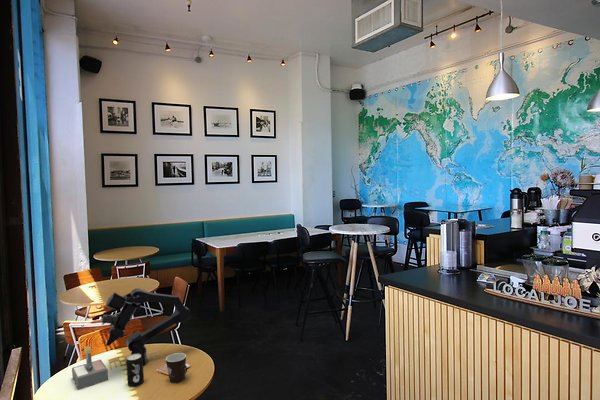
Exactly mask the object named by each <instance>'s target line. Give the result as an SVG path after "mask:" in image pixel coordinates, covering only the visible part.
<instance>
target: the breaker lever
mask: <svg viewBox="0 0 600 400" xmlns="http://www.w3.org/2000/svg"><path fill="white" fill-rule="evenodd" d="M83 350H84V353H85V360H86V361H85V364H86V365H87V367H88V369H89V370H91V369H92V368H93V367H92V362H93V361H92V354H93V348H92V347H91V346H90V345H87V346H83Z"/></svg>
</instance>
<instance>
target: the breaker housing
mask: <svg viewBox="0 0 600 400" xmlns="http://www.w3.org/2000/svg"><path fill="white" fill-rule="evenodd" d="M92 367H93V368H92V369H91V370H89V369H88V367H87V365H86V363H85V364H84V363H83V364H81V365H77V366H74V367H72V368H71V373H72V375H71V376H72V380H73V383H74V384H75V386H76V388H77V390H79V391H81V390H83V389H86V388H88V387H91V386H95V385H98V384H101V383H104V382H107V381H109V371H108V368H107V366H106V365H105V364H104V362H103V361H102V359H98V360H93V361H92Z"/></svg>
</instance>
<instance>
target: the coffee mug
mask: <svg viewBox="0 0 600 400" xmlns="http://www.w3.org/2000/svg"><path fill="white" fill-rule="evenodd" d="M186 361H187V355H186V353H183V352H176V353H171V354H169V355H167V356H166V357H165V364H166V368H167V374H168V378H169V382H170V383H172V384H178V383H181V382H183V381H184V380H185V378H186V374H187V372H188V367H187V364H186V363H187V362H186Z"/></svg>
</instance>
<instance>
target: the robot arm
mask: <svg viewBox="0 0 600 400" xmlns="http://www.w3.org/2000/svg"><path fill="white" fill-rule="evenodd" d="M145 303H161V304H169V305H173V306H174V308H175V310H174V311H173V312H172V314H171V315H170V316H168V317H166V318H165V319H163V320H161V321H160V322H158V323H156V324H155V325H153V326H151V327H150V328H148V329H146V330H145V331H141V332H140V331H139V330H137V331H135V332H134V333H132V334H129V336H128V338H127V339H126V347H127V349H128V350H129V352H130V355H133V354H141V357H142V359H143V367H145V366H146V365H147V363H148V361H149V359H148V358H147V357H148V356H147V348H146V343H147V342H148V341H149V340H151V339H153V338H154V337H156V336H158V335H159V334H161V333H163V332H164V331H166V330H168V329H169V328H170V327H173V326H174V325H176V324H181V323H184V322H186V321H188V320H190V319H191V317H192V312H191V309H189V308H188V307H187V306H185V305H184V303H183V302H182V300H181V298H180V297H179V296H178V295H175V294H174V295H171V294H165V293H164V294H163V293H157V292H150V291H147V290H145V289H141V288H137V287H136V288H134V289H132V290H131V291H130V292H129V293H127V294H125V295H120V294H119V293H117V292H113V294H111V295H110V297H108V298H107V301H106V303H105V307H108V308H110V309H113V310H115V311H120V312H118V313H117V314H116V315H114V314H103V315H102V320H101V324H109V326H111V327H109V328H108V329H109V330H108V332H109V336H108V339H107V341H106V343H105V346H107V347H109V346H111V345H112V344H113V343H114V342H115V341H117V340H118V339H120V338H122V339H123V338H124V336H125V330H126V327H127V325H128V323H129V322H130V321H131V318H132V317H133V315H134V313H135V312H136V310H137V309H138V310H139V311H142V307H141V304H145Z"/></svg>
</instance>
